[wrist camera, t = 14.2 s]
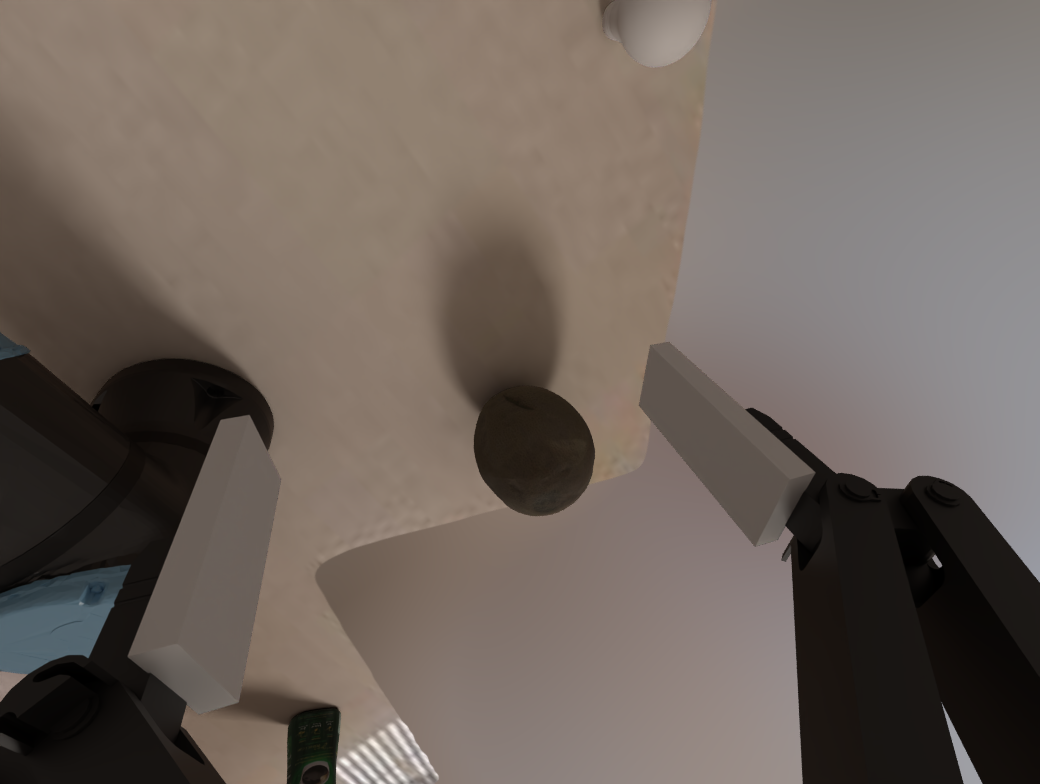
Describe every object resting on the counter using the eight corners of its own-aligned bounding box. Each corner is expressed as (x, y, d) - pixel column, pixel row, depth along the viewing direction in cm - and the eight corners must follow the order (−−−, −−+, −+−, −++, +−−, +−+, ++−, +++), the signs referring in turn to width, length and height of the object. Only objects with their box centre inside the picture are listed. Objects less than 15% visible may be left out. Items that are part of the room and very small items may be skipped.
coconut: (447, 443, 58) (469, 538, 46) (486, 352, 51) (523, 436, 40) (539, 455, 64) (579, 541, 52) (584, 375, 58) (641, 453, 46)
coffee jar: (285, 729, 90) (271, 855, 75) (292, 710, 86) (279, 839, 72) (336, 722, 94) (332, 840, 80) (345, 703, 90) (342, 824, 76)
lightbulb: (659, 11, 37) (749, -6, 28) (613, 84, 39) (684, 88, 31) (610, -52, 34) (694, -93, 25) (562, 31, 36) (626, 20, 27)
